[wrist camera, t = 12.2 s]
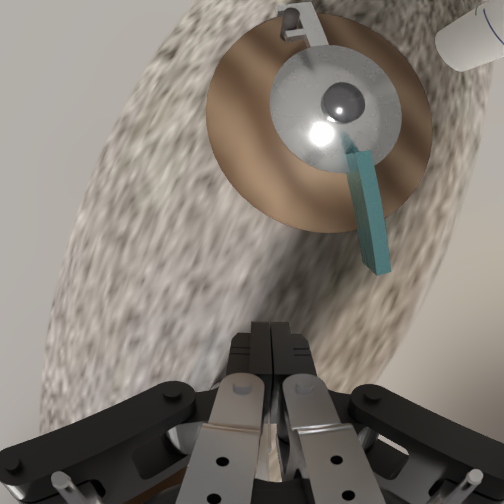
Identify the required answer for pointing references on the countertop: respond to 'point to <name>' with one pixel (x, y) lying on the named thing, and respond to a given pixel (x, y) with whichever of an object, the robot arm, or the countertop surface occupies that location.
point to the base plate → (273, 150)
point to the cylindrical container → (473, 37)
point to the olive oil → (159, 487)
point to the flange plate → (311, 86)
